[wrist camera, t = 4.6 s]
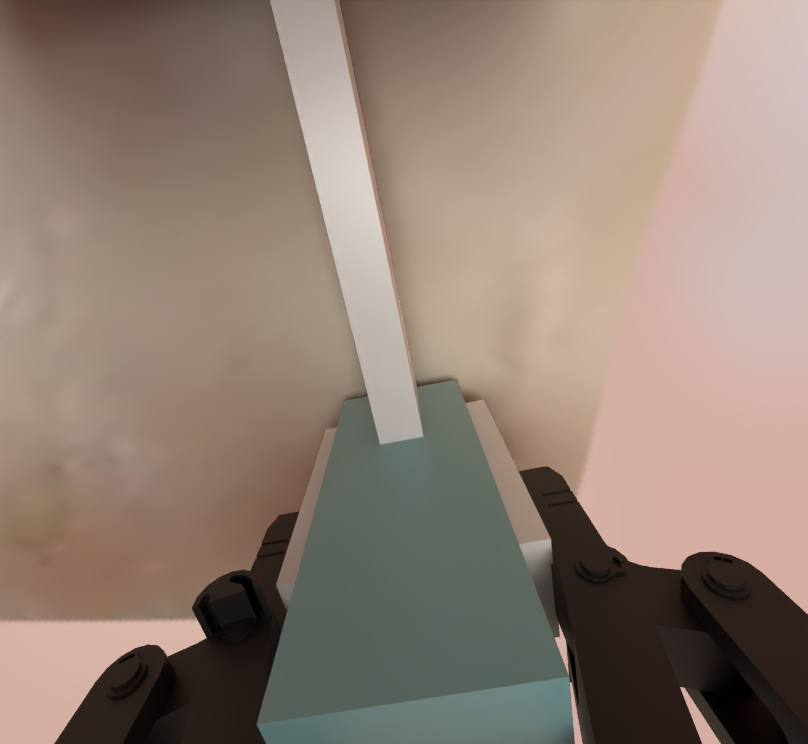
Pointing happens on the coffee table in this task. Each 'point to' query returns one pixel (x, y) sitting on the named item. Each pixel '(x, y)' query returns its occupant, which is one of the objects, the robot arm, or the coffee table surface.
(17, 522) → the coffee table surface
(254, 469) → the coffee table surface
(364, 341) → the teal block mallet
